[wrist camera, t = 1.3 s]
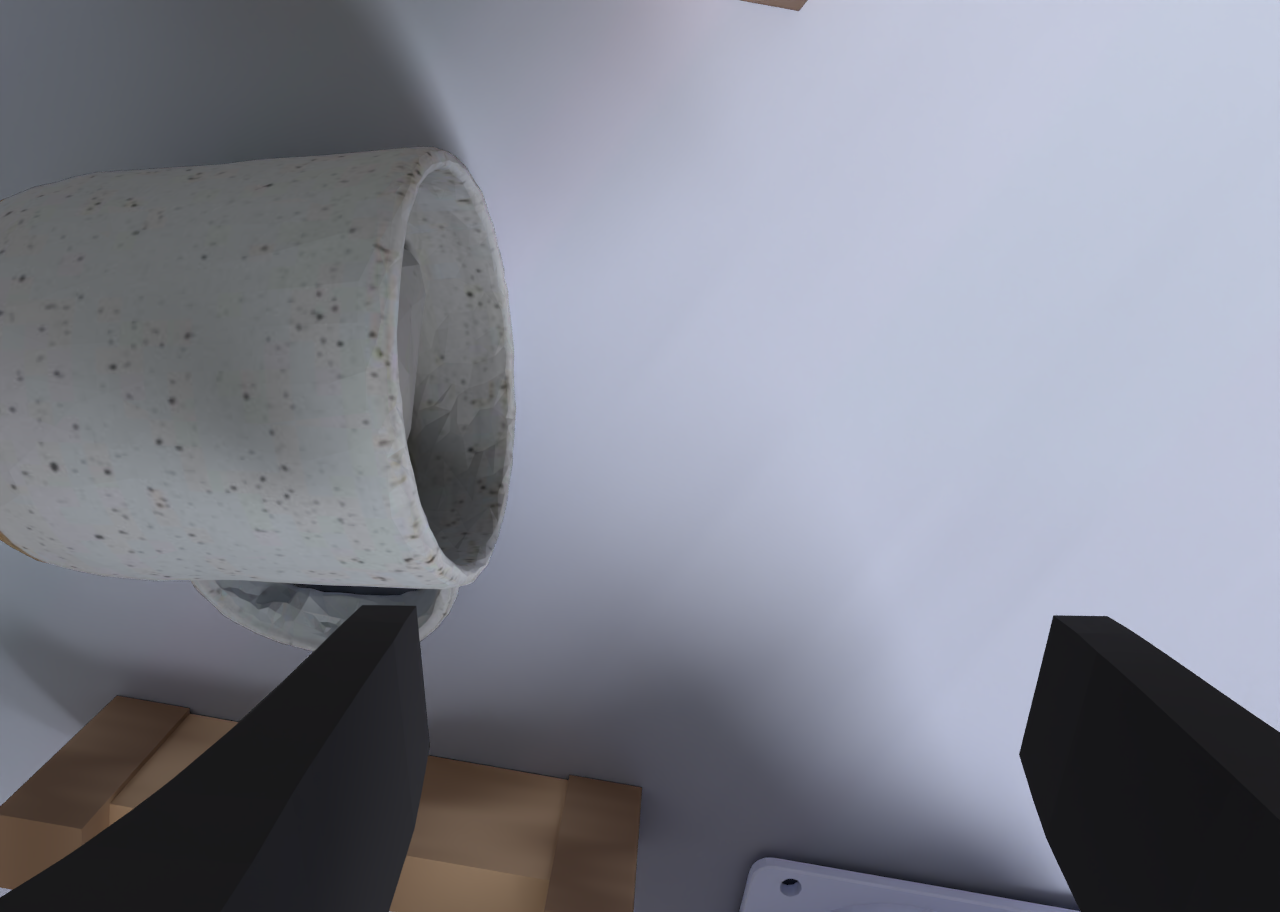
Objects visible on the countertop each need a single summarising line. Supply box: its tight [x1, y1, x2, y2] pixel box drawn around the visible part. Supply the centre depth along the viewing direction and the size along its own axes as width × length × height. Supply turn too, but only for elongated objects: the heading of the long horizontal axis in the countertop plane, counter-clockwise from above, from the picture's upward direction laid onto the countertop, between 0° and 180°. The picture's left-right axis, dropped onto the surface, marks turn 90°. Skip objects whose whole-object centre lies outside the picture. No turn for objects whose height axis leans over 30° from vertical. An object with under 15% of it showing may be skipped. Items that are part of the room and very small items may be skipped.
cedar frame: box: [0, 0, 807, 912], centre depth 19 cm, size 13×21×4 cm, turn 170°
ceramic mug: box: [0, 147, 516, 651], centre depth 18 cm, size 11×8×8 cm
